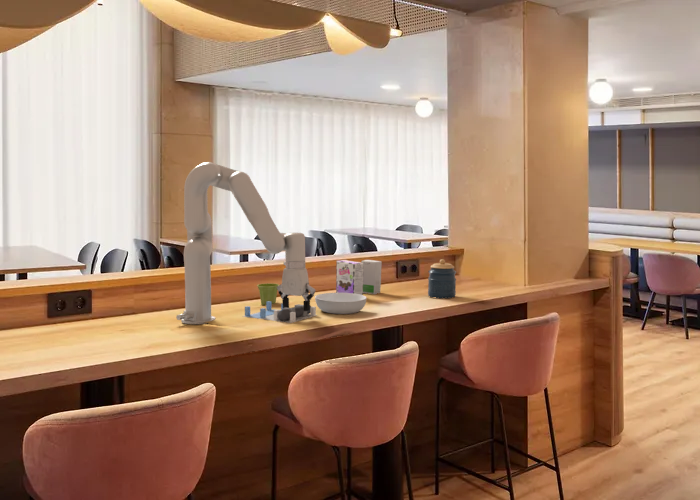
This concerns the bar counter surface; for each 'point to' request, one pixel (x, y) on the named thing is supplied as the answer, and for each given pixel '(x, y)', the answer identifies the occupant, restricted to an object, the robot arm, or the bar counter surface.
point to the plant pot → (268, 293)
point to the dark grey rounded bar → (286, 311)
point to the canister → (442, 280)
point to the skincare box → (371, 276)
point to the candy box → (349, 277)
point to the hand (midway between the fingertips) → (296, 309)
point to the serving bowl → (340, 302)
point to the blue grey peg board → (276, 314)
